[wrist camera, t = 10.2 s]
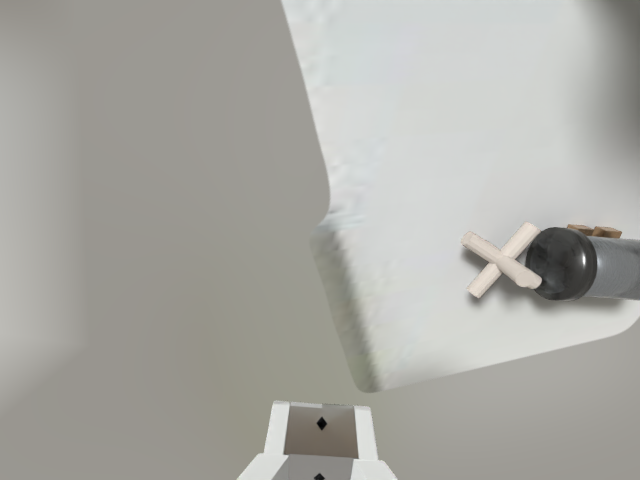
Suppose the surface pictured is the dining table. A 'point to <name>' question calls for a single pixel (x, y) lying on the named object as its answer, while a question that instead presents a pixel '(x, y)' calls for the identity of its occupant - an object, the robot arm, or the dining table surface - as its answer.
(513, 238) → the beige crossed rods piece
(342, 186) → the dining table surface
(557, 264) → the lidded storage canister
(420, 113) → the dining table surface
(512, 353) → the dining table surface
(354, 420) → the robot arm
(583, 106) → the dining table surface
